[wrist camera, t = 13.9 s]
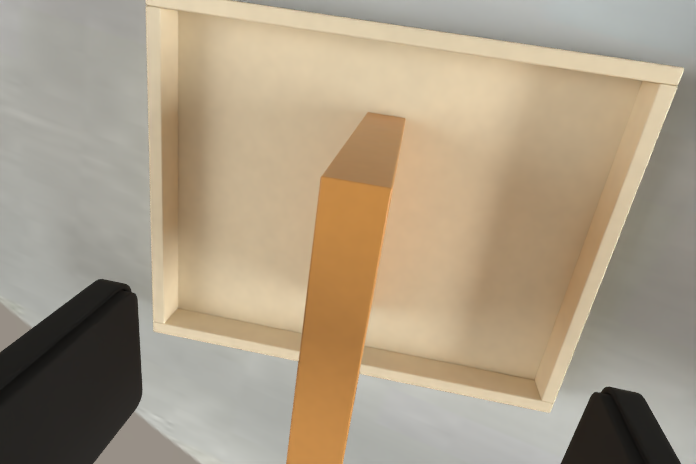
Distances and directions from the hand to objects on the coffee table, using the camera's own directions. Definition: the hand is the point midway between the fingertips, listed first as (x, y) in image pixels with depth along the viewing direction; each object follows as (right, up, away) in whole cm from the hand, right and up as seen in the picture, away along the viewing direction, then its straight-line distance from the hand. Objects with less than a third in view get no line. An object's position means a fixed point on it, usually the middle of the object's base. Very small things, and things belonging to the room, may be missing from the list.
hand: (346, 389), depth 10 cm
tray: (+1, +4, +12) cm, 13 cm away
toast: (+1, +4, +12) cm, 12 cm away
